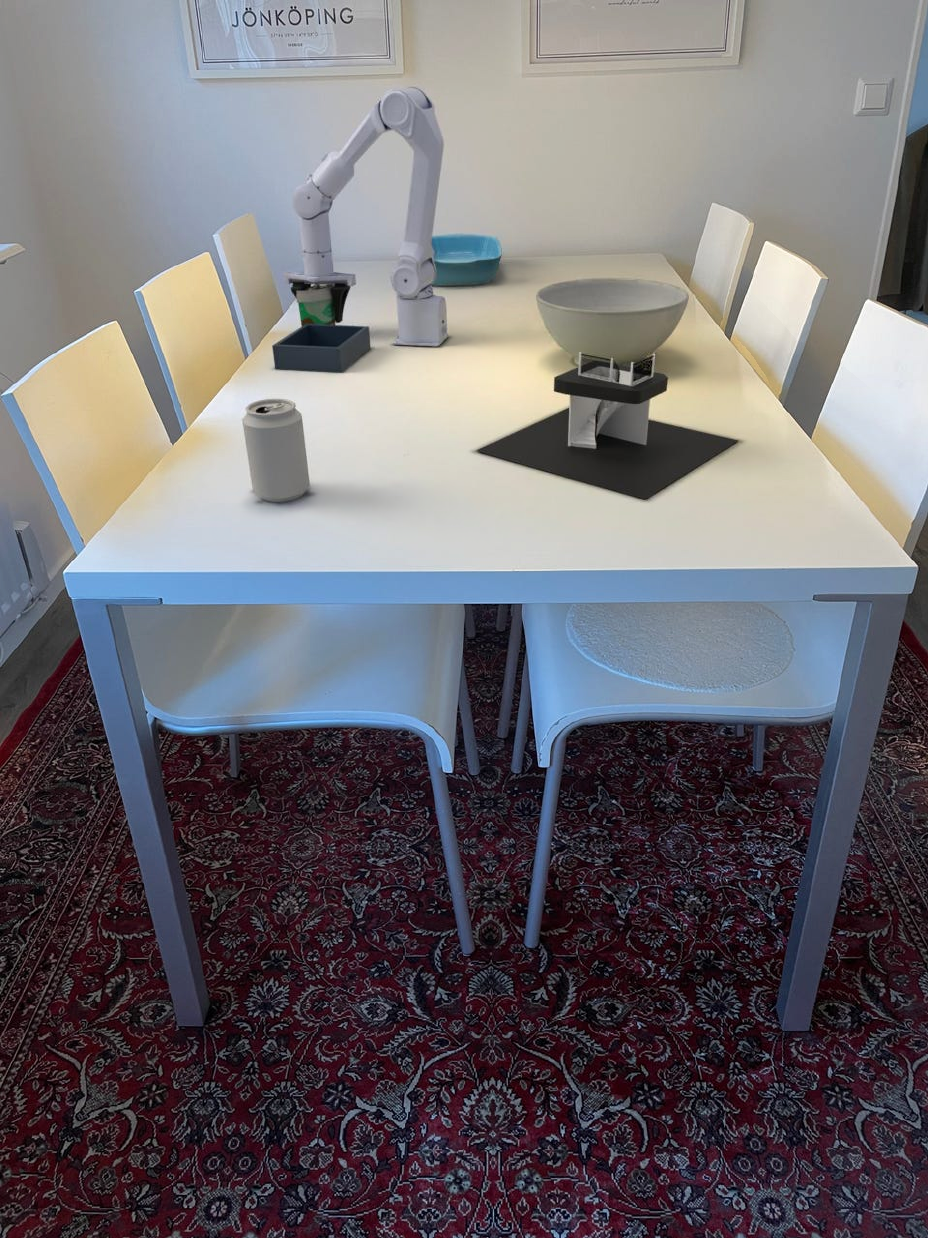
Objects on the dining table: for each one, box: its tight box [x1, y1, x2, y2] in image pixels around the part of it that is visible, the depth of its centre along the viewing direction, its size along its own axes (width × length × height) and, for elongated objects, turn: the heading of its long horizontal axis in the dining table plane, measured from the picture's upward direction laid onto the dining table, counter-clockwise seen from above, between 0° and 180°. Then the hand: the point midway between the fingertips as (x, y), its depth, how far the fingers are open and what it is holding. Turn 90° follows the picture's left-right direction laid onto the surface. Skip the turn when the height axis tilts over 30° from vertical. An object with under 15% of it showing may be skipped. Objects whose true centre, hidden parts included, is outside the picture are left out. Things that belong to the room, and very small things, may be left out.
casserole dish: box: [431, 233, 503, 287], centre depth 240 cm, size 37×22×7 cm, turn 0°
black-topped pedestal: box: [475, 352, 739, 500], centre depth 132 cm, size 28×26×13 cm
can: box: [241, 398, 311, 503], centre depth 121 cm, size 8×8×12 cm
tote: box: [271, 324, 372, 373], centre depth 177 cm, size 13×16×4 cm
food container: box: [296, 284, 336, 327], centre depth 190 cm, size 12×6×10 cm, turn 168°
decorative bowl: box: [535, 277, 690, 368], centre depth 169 cm, size 27×27×12 cm
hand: (323, 321), depth 191 cm, fingers closed on food container, 6 cm apart
